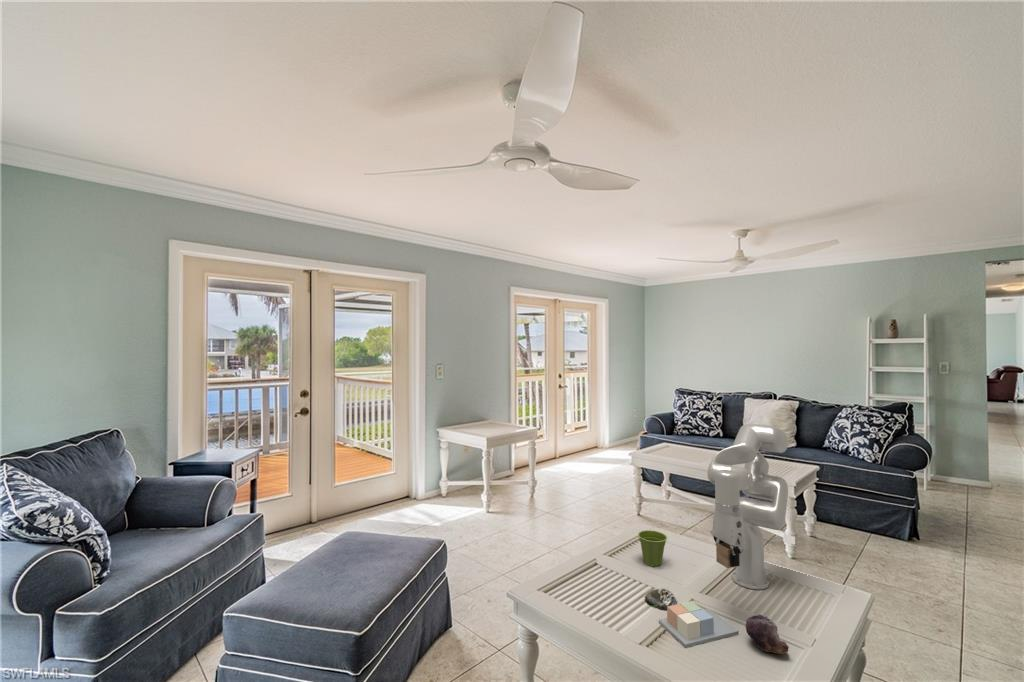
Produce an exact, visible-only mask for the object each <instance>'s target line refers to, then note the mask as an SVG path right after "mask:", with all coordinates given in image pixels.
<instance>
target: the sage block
mask: <svg viewBox="0 0 1024 682" xmlns="http://www.w3.org/2000/svg"><path fill="white" fill-rule="evenodd" d="M679 604H680V605H682V606H683V607H684V608H685V609H686V610H688V611H689V612H693V611H697V610H702V609H703V608H702V607H700V606H699V605H698V604H697V603H695V602H694V601H692V600H691V601H687V602H686V601H685V602H682V603H679Z"/></svg>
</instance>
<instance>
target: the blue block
mask: <svg viewBox="0 0 1024 682" xmlns="http://www.w3.org/2000/svg"><path fill="white" fill-rule="evenodd" d="M690 613H691V614H693V615H694V616H695V617H696V618H698V619H699V620H700V636H704V635H708V634H712V633H714V618H713V617H712V616H711V615H709V614H708V613H707V612H706V611H704V609H703V608H702V610H697V611H693V612H690Z"/></svg>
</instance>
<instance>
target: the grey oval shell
mask: <svg viewBox="0 0 1024 682" xmlns="http://www.w3.org/2000/svg"><path fill="white" fill-rule="evenodd" d="M674 595H675V594H674V593H673V592H672V591H671V590H669V589H667V588H666V587H665V588H663V587H661V588H660V589H659V588H657V589H652V590H650V591H648V592H647V593H646V595H645V596H644V599H645V601H646V604H647V605H648V606H650V607H651V608H653V609H657V610H660V611H664V612H667V606H672V605H676V604H678V601H677V598H676V597H675V596H674Z"/></svg>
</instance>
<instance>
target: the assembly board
mask: <svg viewBox="0 0 1024 682" xmlns="http://www.w3.org/2000/svg"><path fill="white" fill-rule="evenodd" d="M703 610H704V611H706V612H707V613H708V614H709V615H711V616H712V617H713V618H714V633H712V634H708V635H704V636H700V637H696V638H692V639H688V640H687V639H686V638H685V637H684V636H683V635H682V634H681V633H680V632H678V631H677V630H676V629H675V628H674V627H673V626H672V625H671V624H670V623H669V622H667V617H665V618H661V619H658V624H659V625H661V627H662V628H663V629H664V630H665V631H666V632H668V633H669V634H670V635H671V636H672V637H673V638H674V639H675V640H676V641H678V643H680V644H681V645H682V646H683V647H684V648H685V649H686V648H690V647H693V646H698V645H701V644H705V643H709V642H713V641H717V640H721V639H725V638H729V637H732V636H737V635H739V633H740V632H739V631H740V630H738V629H737V628H735V627H734V626H733V625H731V623H728V622H727V621H726V620H725V619H723V618H722V617H721V616H720V615H718V614H717V613H716V612H714V611H713V610H712V609H710V608H705V609H703Z"/></svg>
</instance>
